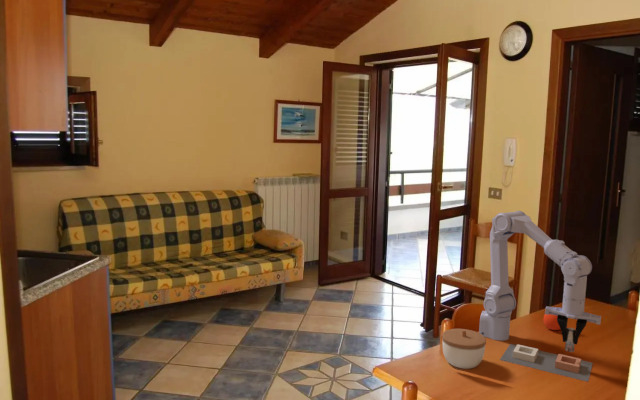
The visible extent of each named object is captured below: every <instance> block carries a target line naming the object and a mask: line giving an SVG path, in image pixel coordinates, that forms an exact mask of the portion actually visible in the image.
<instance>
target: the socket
mask: <svg viewBox="0 0 640 400" xmlns="http://www.w3.org/2000/svg"><path fill="white" fill-rule="evenodd" d="M557 355H558V356H557V359H556V361H555V368H558V369H562V370H566V371H570V372H575V373H579V369H580V366H581V360H582V358H579V357H575V356H571V355H566V354H562V353H558V354H557Z"/></svg>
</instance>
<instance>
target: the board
mask: <svg viewBox="0 0 640 400" xmlns="http://www.w3.org/2000/svg"><path fill="white" fill-rule="evenodd" d="M516 346H517V344H513V343H509V345H508V347H507V348H506V349H505V351H504V353H502V356H501V357H500V359H499V361H502V362H507V363H511V364H515V365H518V366H523V367H526V368H531V369H536V370H538V371H543V372H547V373H551V374H554V375H559V376H563V377H567V378H572V379H573V380H574V379H576V380H580V381H582V382H583V381H584V382H589V380H590V376H591V371H592V368H593V364H594V363H593V362H591V361H586V360H582V359H581V366H580V369H579V373H575V372H570V371H566V370H562V369H558V368H555V361H556V359H557V356H558V354H556V353H551V352H549V351H548V352H547V351H545V350H544V351H543V350H539V349H538V356H537V358H536V360H535V362H534V363H533V362H529V361H525V360H521V359H517V358H513V351H514V349H515V347H516Z"/></svg>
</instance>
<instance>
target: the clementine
mask: <svg viewBox="0 0 640 400" xmlns="http://www.w3.org/2000/svg"><path fill="white" fill-rule="evenodd" d="M557 317H558V316H556V315H551V314H549V315H547V314H545V313H544V314H543V318H542V319H543V320H542V321H543V323H544V324H543V325H544V326H545V327H546V328H548V329H549V330H552V331H558V330H561V329H560V326H559V324H558V322H557Z"/></svg>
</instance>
